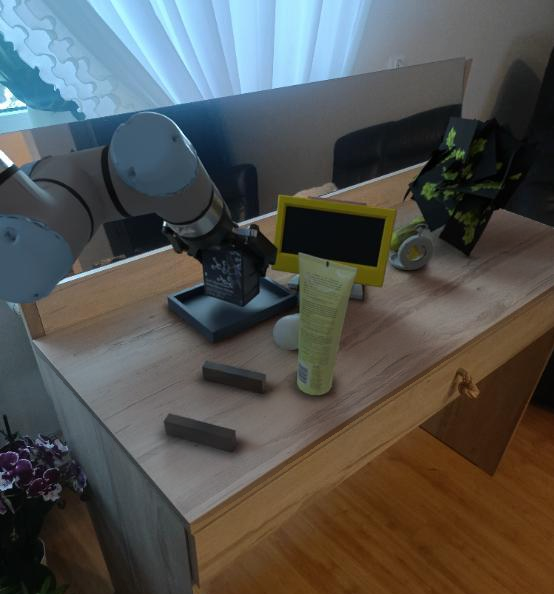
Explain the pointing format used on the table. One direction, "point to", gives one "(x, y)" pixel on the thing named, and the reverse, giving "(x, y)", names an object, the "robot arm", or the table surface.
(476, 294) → the table surface
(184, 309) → the tray
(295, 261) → the toy computer monitor
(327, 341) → the tube
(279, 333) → the figurine
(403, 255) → the pocket watch
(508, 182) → the potted plant
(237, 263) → the box
